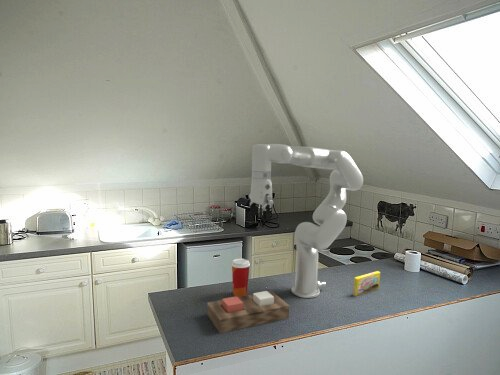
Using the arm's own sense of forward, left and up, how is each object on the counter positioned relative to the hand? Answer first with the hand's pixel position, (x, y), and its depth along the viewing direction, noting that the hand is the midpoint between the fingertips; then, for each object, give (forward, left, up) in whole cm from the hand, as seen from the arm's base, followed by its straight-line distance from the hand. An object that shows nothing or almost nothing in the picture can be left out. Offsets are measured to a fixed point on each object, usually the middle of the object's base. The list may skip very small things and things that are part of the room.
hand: (259, 217), depth 146 cm
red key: (+15, +9, -31) cm, 36 cm away
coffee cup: (+4, -10, -36) cm, 38 cm away
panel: (+9, +9, -36) cm, 38 cm away
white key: (+2, +9, -31) cm, 33 cm away
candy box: (-50, +9, -36) cm, 63 cm away
